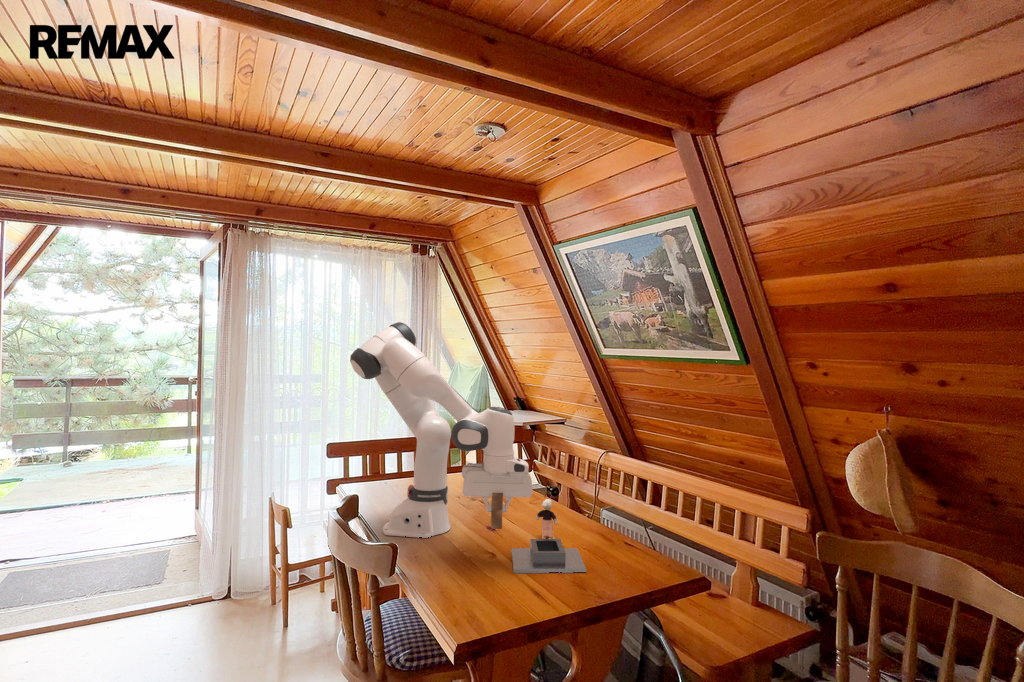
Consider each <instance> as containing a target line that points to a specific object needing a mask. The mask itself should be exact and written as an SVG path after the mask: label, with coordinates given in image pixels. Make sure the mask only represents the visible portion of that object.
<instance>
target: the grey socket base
mask: <svg viewBox="0 0 1024 682" xmlns="http://www.w3.org/2000/svg"><path fill="white" fill-rule="evenodd" d="M529 541H530V543H529V546H530V547H527V548H526V547H525V548H523V547H518V548H516V547H513V548H511V560H512V567H513V569H512V571H513V574H550V573H549V572H559V573H558V574H574V573H573V572H586V573H587V567H586V565H585V563H584V560H583V558H582V555H581V554H580V552H579V549H578V548H577V547H572V548H571V547H568V548H567V547H564V546H563V542H562V539H561V538H555V539H548V538H547V539H542V538H530V539H529ZM560 572H562V573H560Z"/></svg>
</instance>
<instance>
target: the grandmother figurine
mask: <svg viewBox="0 0 1024 682" xmlns="http://www.w3.org/2000/svg"><path fill="white" fill-rule="evenodd" d="M552 505H553V501H552V500H551V499H549V498H547V499H545V500H543V502H542V504H541V507H542V508H543V509H542V510H540V511H539V512H538V513H537V514H536V517H535V520H536V521H539V520H540V518H542V520H541V521H542V522H541V535H542V536H541V539H542V538H543V539H546V538H547V537H548V538H547V539H556V537H555V536H554V529H553V528H554V525H555V526H557V525H558V520H557V517H556V516H557V515H555V513H554V511H552V510H551V509H552ZM553 522H554V525H553Z"/></svg>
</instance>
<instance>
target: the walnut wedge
mask: <svg viewBox="0 0 1024 682" xmlns="http://www.w3.org/2000/svg"><path fill="white" fill-rule="evenodd" d="M503 501H504V497H503V493H492V497H491V504H492V512H490V529H491V530H502V529H503V512H502V508H503V505H504V504H503Z"/></svg>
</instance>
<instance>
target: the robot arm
mask: <svg viewBox="0 0 1024 682" xmlns="http://www.w3.org/2000/svg"><path fill="white" fill-rule="evenodd" d="M416 344H417V337H416V336H415V333H414V332H413V330H412V329H411V327H410V326H409V325H408V324H406V323H404V322H401V321H398V322H395V323H392V324H390V325H389V327H386V328H384V329H382V330H381V331H379V332H377V333H376V334H375V335H373V336H372V337H371V338H370V339H368V340H367V341H365V342H364V343H363V344H362V345H361V346H360V347H357V348H356V349H355V350H354V351H353V352H352V354H350V358H349V359H350V360H349V361H350V364H351V367H352V369H353V370H354V372H355V373H356V374H357V375H358V376H359V377H360V378H362V379H364V380H372V379H375V381H376V382H377V385H378V386H379V388H380V389H381V390H382V392H383V393H384V395H385V397H386V398H387V399H388V401H389V402H390V403H391V405H392V406H393V407H394V409H395V410H396V412H397V413H398V414H399V416H400V418H401V419H402V420H403V421H404V423H405V425H407V428H408V429H409V430H410V431H411V433H412V434H413V436H414V438H416V447H415V448H416V451H415V459H414V464H413V484H410V485H409V486H408V487H407V495H406V496H407V498H405V499H404V500H402V501H401V503H399V504H397V505H396V506H395V507H394V509H393V510H392V511H391V515H390V519H389V521H387V522H386V523H385V524H384V525H383V526H382V533H383V535H385V536H394V537H405V536H406V538H407V537H408V538H419V537H422V538H421V539H429V538H432V537H434V536H437V535H441V534H442V535H443V534H444V533H446V532H448V531H450V530H451V527H452V526H451V523H450V519H449V513H448V501H449V489H448V485H447V477H448V474H447V472H448V469H447V468H448V459H449V453H450V446H451V441H452V443H453V444H454V446H455V447H456V448H457V449H458V450H460V451H464V452H473V451H480V450H482V451H483V457H482V458H483V459H482V460H483V462H478V463H477V462H476V463H473V462H468V463H467V464H465V465H463V467H462V469H461V476H462V478H463V482H462V483H463V484H462V494H463V496H464V497H483V498H482V500H483V502H484V505H485V506H486V513H491V512H492V503H491V504H490V503H489V498H490V497H491V498H492V493H503V498H506V499H505V500H506V502H505V503H504V504H503V508H502V513H507V512H508V506H510V503H511V502H512V498H531V496H532V495H533V480H532V477H531V474H530V471H529V469H530V468H529V467H530V466H529V463H528V462H527V461H526V460H525V459H524V460H523V459H521V458H518V457H515V452H514V446H513V445H514V441H515V418H514V415H513V413H512V412H511V411H510V410H509V409H507V408H505V407H504V408H503V407H500V406H488V407H487V408H486V409H485V410H482V411H479V410H477V409H476V408H474V407H473V406H472V405H471V404H470V403H469V402H468V401H467V400H466V399H465V398H464V397H463V396H462V395H461V394H459V392H458V391H457V390H455V388H454V387H453V386H452V385H450V384H449V383H448V381H447V380H446V379H445V378H444V377H443V376H442V374H441V373H440V372H439V371H438V369H437V368H436V367H435V365H434V364H433V363H432V362H431V361H430V360H429V358H427V356H426V355H425V354H424V353H423V352H422V350H420V349H419V348H418V347H416ZM431 401H433V402H435V403H437V404H438V405H440V406H441V407H443V409H444V410H445V411H447V413H448V414H449V415H451V417H453V418H454V420H455V421H456V423H455V424H454V425H453V427H452V428H451V426H450V424H449V422H448V421H447V420H446V419H445V417H443V416H441V415H440V414H439V413H438V411H437V410H436V408H435V407H434V405H433V404H432V402H431ZM431 536H432V537H431ZM428 537H429V538H428Z"/></svg>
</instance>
